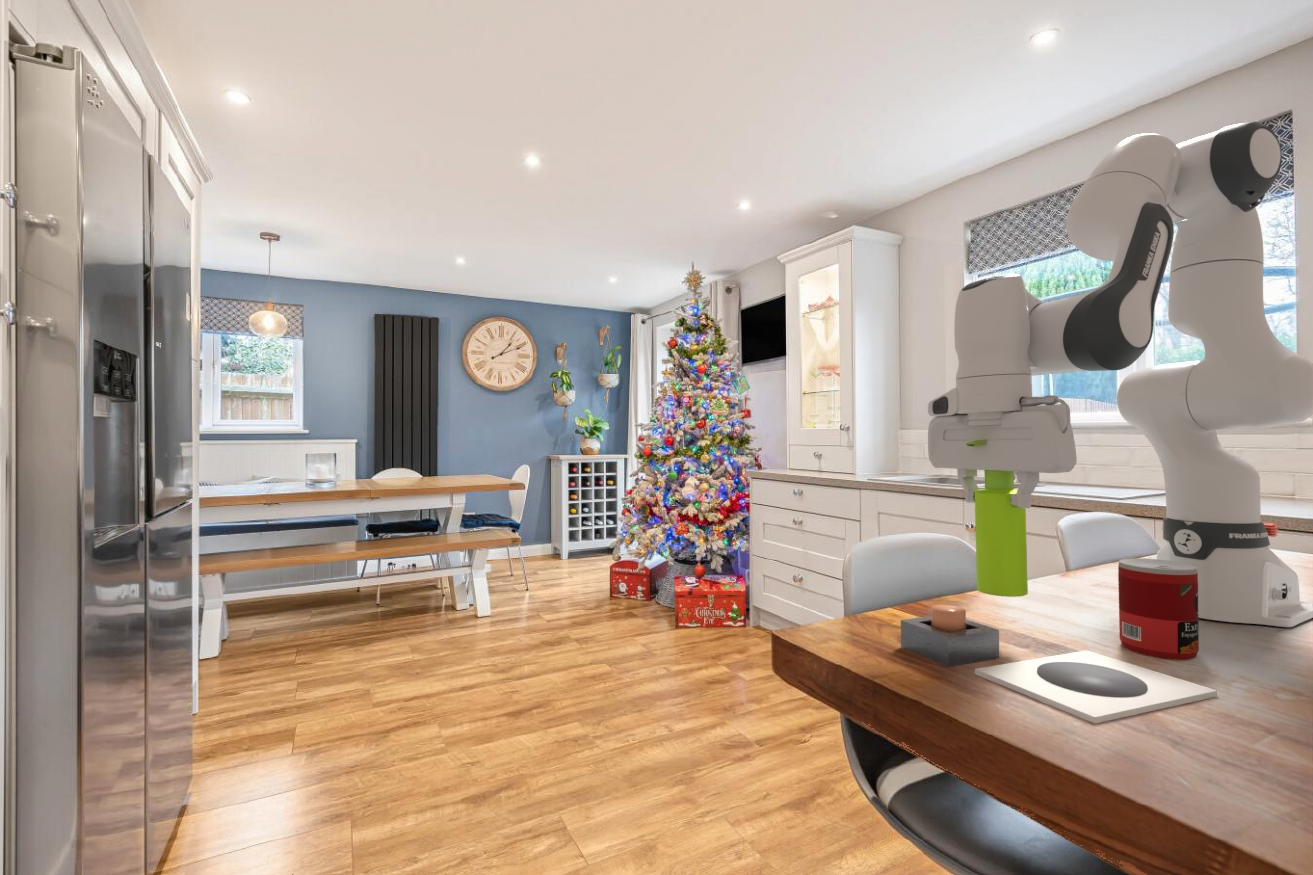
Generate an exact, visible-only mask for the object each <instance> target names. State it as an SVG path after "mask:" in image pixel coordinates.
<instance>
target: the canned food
mask: <svg viewBox="0 0 1313 875" xmlns="http://www.w3.org/2000/svg"><path fill="white" fill-rule="evenodd" d="M1117 568H1118V569H1117V570H1118V573H1117V580H1118V617H1119V618H1118V622H1119V623H1118V624H1119V640H1120V643H1121V645H1122V647H1123V648H1125V649H1126V650H1128V651H1130V652H1132V653H1136V654H1139V655H1142V656H1146V657H1151V658H1157V659H1163V660H1172V661H1175V660H1176V661H1188V660H1194V659H1196V657H1197V656H1198V653H1199V650H1200V645H1199V644H1200V642H1199V641H1200V640H1199V637H1200V636H1199V627H1200V626H1199V618H1198V572H1197V567H1195V566H1193V565H1190V564H1186V563H1181V562H1175V561H1167V560H1158V559H1157V558H1156V559H1155V558H1138V557H1137V558H1136V557H1135V558H1131V557H1130V558H1123V559H1119V560H1118V567H1117Z"/></svg>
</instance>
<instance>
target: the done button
mask: <svg viewBox="0 0 1313 875" xmlns="http://www.w3.org/2000/svg"><path fill="white" fill-rule="evenodd" d="M966 613H967V612H966V609H965V608H963V607H960V606H956V605H949V604H948V605H947V604H938V605H937V604H935V605H932V606H931V607H930V616H931V627H934V628H937V629H940V630H943V631H945V632H955V631H962V630H966V620H967V619H966V618H967V614H966Z"/></svg>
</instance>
